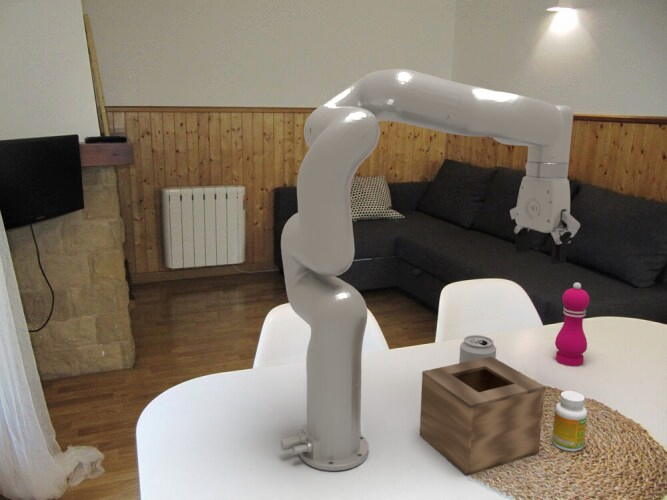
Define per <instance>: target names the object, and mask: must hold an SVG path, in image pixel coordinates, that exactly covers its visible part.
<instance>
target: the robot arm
mask: <svg viewBox="0 0 667 500" xmlns="http://www.w3.org/2000/svg"><path fill="white" fill-rule="evenodd" d="M573 120H574V111H573V109H572V107H571V106H568V105H565V104H564V105H562V104H558V105H557V104H553V103H550V102H548V101H544V100H541V99H537V98H533V97H529V96H525V95H520V94H516V93H510V92H504V91H499V90H493V89H491V88H484V87H480V86H476V85H471V84H465V83H461V82H458V81H453V80H449V79H445V78H442V77H438V76H434V75H431V74H427V73H424V72H419V71H416V70H412V69H407V68H392V69H383V70H382V69H381V70H375V71H372V72H369V73H368V74H365V75H364V76H363V77H361V78H359V79H358V80H357V81H355V82H353V83H351V84H350V85H349V86H348V87H346V88H345V89H343V90H341V91H340V92H339V93H338V94H336V95H334V96H333V97H331V98H330V99H329V100H327V101H326V102H324V103H322V104H321V105H319V106H318V107H317V108H316V109H315V110H313V111H312V112H311V113H310V115H308V117H307V119H306V121H305V123H304V127H303V138H304V141H305V143H306V146H307V147H308V148H309V149H308V151H307V152H306V154H305V156H304V157H303V160H302V162H301V164H300V167H299V170H298V173H297V180H296V197H297V212H296V213H294V214H293V215H292V216H291V217H290V218H288V220H287V221H286V223H285V224H284V227H283V229H282V233H281V236H280V238H281V239H280V249H281V259H282V266H283V274H284V283H285V289H286V295H287V300H288V303H289V305H290V307H291V309H292V310H293V312H294V313H295V314H296V315H298V316H299V318H301V319H302V320H303V321H304V322H305V323H306V324H307V325H309V327H310V336H309V337H310V338H309V341H308V346H307V349H306V356H305V358H306V359H305V360H306V361H305V362H306V365H305V367H306V368H305V370H306V372H305V373H306V425H304V426H301V432H299V433H296V436H293V437H287V438H281V439H280V448H281V450H282V451H288V450H292V454H293V455H294V456H296V455H299V457H300V458H301V460H302V461H303V462H304V463H306V464H307V465H309V466H310V467H312V468H314V469H318V470H323V471H331V472H336V471H346V470H349V469H352V468H355V467H357V466H359V465H360V464H362V463H364V461H365V460H366V459H367V458H368V456H369V451H370V447H369V446H370V445H369V441H368V440H367V439H366V437H364V435H362V434H361V411H362V409H361V408H362V405H361V404H362V355H363V344H364V339H365V338H364V336H365V332H366V327H367V323H368V307H367V304H366V301H365V298H364V296H362V294H361V293H360V292H359V291H358V290H357V289H356V288H355V287H354V286H353V285H351V284H349V283H347V282H346V281H344V280H342V279H341V278H340V277H337V276H340V275H342V274H344V273H345V272H347V271H348V270H349V268H350V267H351V266H352V264H353V262H354V257H355V252H356V250H355V238H354V237H355V236H354V230H353V229H354V227H353V219H352V218H353V217H352V206H351V187H352V183H353V182H352V181H353V178H354V176H355V174H356V172H357V170H358V169H359V167H360V166H361V165H362V164H363V162H364V161H365V160H366V159H367V158H368V157H370V156H371V154H372V153H373V152H374V150H375V149H376V148H377V146H378V144H379V141H380V138H381V137H380V136H381V135H380V134H381V126H380V122H395V123H401V124H404V125H405V124H406V125H410V126H414V127H419V128H423V129H429V130H432V131H437V132H442V133H445V134H450V135H455V136H456V135H458V136H464V137H482V138H485V137H486V138H492V139H493V140H495V141H496V142H498V143H500V144H503V145H506V146H507V145H509V146H518V147H519V146H520V147H527V148H528V149H527V158H526V159H527V161H526V163H525V165H524V167H525V170H526V171H525V172H526V174H525V176H523V177H522V180H521V183H520V186H519V190H518V191H519V192H518V196H517V202H516V206H515V207H514V208H511V209H510V210H509V213H510V217H511V223H512V226H513V227H514V230H513V231H514V234H516V236H515V237H516V238H515V246H514V249H515V250H514V252H515V254H521V253H522V254H524V253H528V252H530V242H531V232H529V231H530V230H532V231H537V232H540V233H544V234H548V233H550V234H551V236H552V238H553V240H554V242H555V243H552V247H551V257H550V263H551V265H561V264H565V263H566V261H567V260H566V259H567V251H568V244H571V241H572V240H573V239H574V238H575V237H576V235H577V232H578V231H579V229H580V227H581V223H580V222H579V221H578V220H577V219H575V217H574V216H572V215H571V188H570V180H569V179H568V175H569V174H568V172H569V161H570V152H571V142H572V132H573V123H574V121H573Z"/></svg>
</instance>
